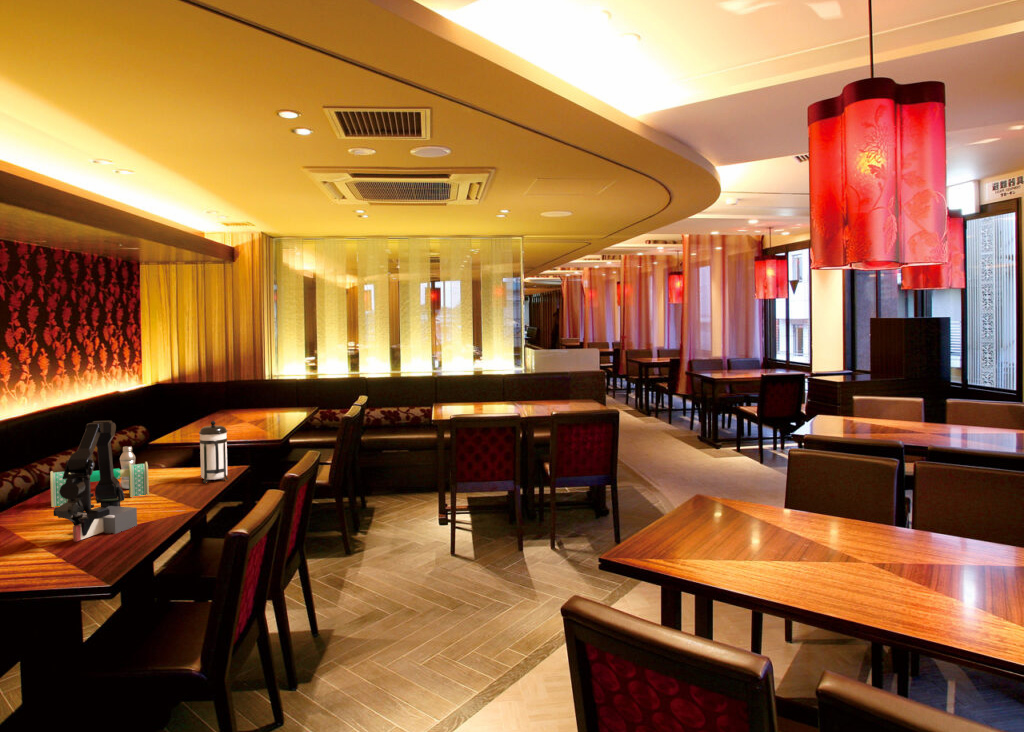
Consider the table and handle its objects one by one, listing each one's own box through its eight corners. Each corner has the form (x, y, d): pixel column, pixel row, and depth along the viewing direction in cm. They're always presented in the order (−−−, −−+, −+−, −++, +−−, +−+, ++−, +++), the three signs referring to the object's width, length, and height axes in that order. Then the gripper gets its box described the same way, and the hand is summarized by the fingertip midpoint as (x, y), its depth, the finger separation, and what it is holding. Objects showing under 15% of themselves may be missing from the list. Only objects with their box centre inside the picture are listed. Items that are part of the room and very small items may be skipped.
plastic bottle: (129, 490, 295) (128, 448, 294) (117, 489, 296) (115, 447, 295) (140, 487, 301) (139, 445, 300) (128, 486, 303) (126, 445, 302)
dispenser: (110, 523, 244) (110, 505, 243) (137, 525, 241) (136, 507, 241) (85, 532, 233) (85, 513, 233) (113, 534, 230) (112, 515, 230)
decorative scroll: (147, 492, 293) (146, 460, 292) (148, 496, 286) (148, 463, 285) (52, 503, 273) (50, 469, 272) (51, 508, 266) (50, 473, 265)
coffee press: (189, 483, 310) (187, 422, 309) (213, 476, 325) (211, 418, 324) (218, 485, 305) (216, 424, 304) (241, 478, 320) (239, 419, 319)
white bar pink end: (118, 525, 241) (117, 511, 240) (121, 525, 240) (120, 511, 240) (73, 541, 222) (72, 526, 222) (76, 541, 222) (76, 526, 222)
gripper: (38, 496, 218) (39, 540, 219) (82, 499, 214) (84, 544, 215) (67, 488, 229) (68, 531, 230) (110, 491, 225) (111, 534, 226)
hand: (82, 535), depth 225 cm, fingers closed on white bar pink end
